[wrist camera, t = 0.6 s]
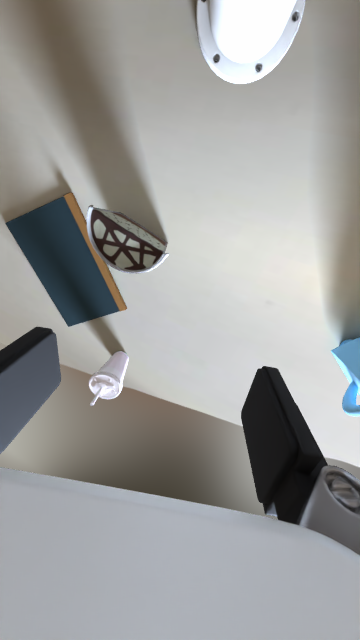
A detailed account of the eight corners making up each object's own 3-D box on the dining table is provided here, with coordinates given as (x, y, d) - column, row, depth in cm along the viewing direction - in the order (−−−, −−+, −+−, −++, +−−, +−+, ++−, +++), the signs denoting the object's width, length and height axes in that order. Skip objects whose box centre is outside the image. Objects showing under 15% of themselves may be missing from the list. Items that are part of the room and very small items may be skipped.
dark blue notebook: (7, 223, 40) (3, 223, 39) (72, 192, 37) (70, 192, 36) (69, 325, 48) (67, 327, 47) (127, 308, 45) (126, 309, 44)
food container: (100, 240, 40) (70, 246, 31) (113, 207, 37) (84, 204, 28) (158, 275, 41) (147, 292, 32) (174, 247, 39) (167, 256, 30)
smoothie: (104, 347, 50) (71, 391, 37) (130, 345, 49) (106, 389, 36) (111, 369, 52) (83, 418, 40) (137, 368, 51) (116, 417, 39)
